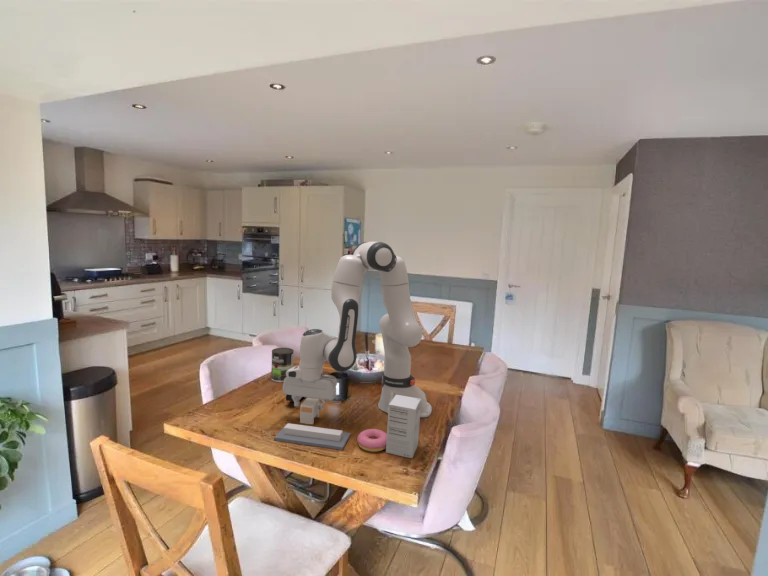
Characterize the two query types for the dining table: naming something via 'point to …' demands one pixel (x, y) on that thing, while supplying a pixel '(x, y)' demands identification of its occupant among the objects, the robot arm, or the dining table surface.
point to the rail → (312, 440)
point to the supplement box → (403, 426)
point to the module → (309, 410)
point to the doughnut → (372, 440)
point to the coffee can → (281, 363)
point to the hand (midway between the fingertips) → (308, 407)
